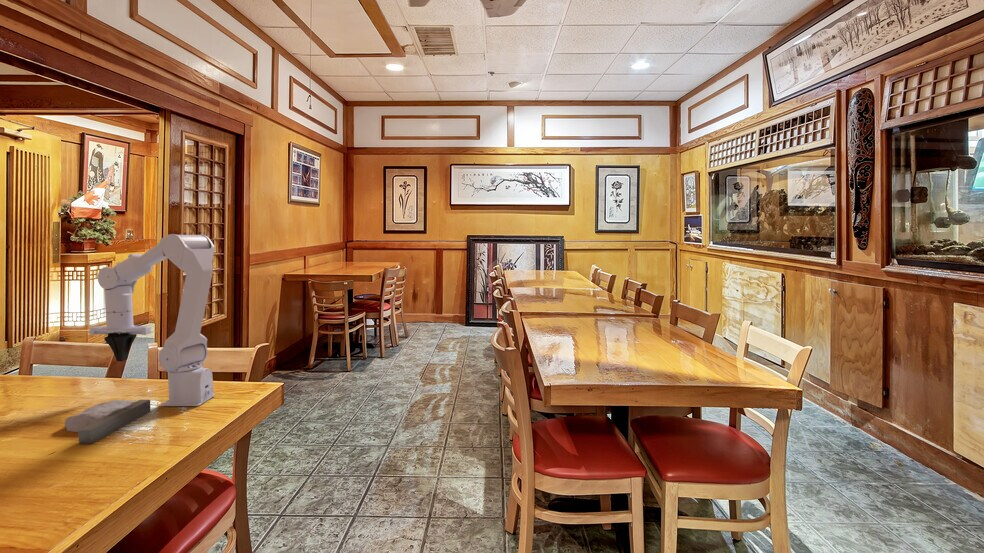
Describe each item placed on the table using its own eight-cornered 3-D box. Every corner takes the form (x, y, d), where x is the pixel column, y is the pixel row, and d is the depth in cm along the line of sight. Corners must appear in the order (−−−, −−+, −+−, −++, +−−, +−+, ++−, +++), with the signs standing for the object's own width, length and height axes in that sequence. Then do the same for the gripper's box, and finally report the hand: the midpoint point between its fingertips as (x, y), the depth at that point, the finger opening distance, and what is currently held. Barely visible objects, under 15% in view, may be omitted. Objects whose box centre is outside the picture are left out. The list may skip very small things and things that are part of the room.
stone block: (60, 440, 101) (106, 431, 101) (55, 419, 100) (101, 410, 101) (103, 421, 112) (144, 412, 113) (98, 402, 112) (139, 394, 113)
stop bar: (150, 411, 113) (150, 399, 112) (91, 444, 95) (90, 430, 95) (140, 411, 113) (139, 399, 112) (79, 444, 95) (78, 430, 94)
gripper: (78, 313, 118) (81, 364, 120) (136, 313, 119) (139, 364, 120) (100, 309, 125) (103, 357, 127) (155, 309, 126) (157, 357, 127)
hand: (122, 360), depth 124 cm, fingers closed
